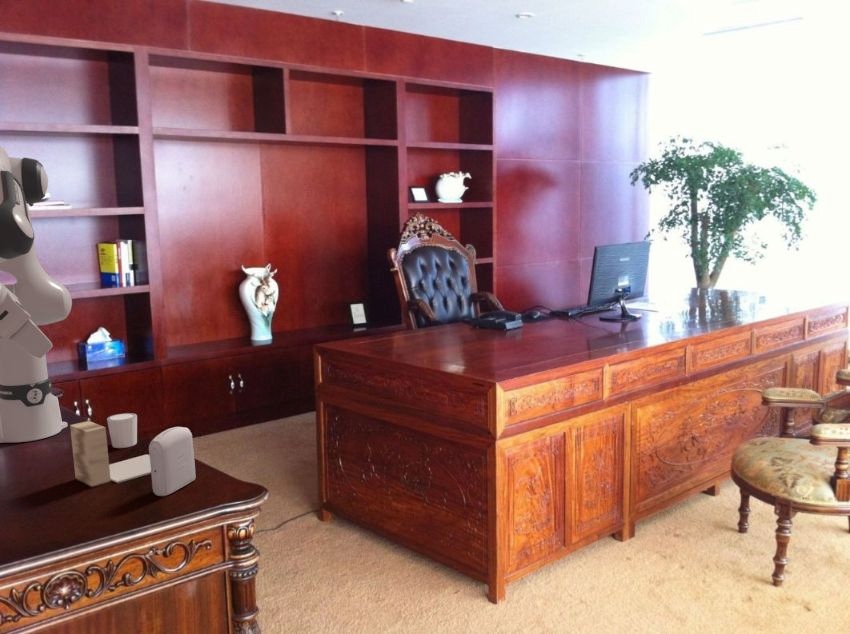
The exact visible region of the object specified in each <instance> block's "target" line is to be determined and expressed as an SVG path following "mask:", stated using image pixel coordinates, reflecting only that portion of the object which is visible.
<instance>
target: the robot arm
mask: <svg viewBox="0 0 850 634" xmlns="http://www.w3.org/2000/svg"><path fill="white" fill-rule="evenodd" d="M48 178H49V177H48V175H47V172H46V170H45V169H44V165H43V164H42V163H41V162H40V161H39V160H37V159H35V158H29V157H22V158H19V157H10V156H9V154H8V152H7V151H6V149H5V148H4V147H2V146H1V145H0V271H1V272H4V273H8V274H10V275H12V276H13V277H14V278H15V279H16V282H15V283H10V284H3V283H2V282H1V281H0V443H1V444H2V443H3V444H4V443H22V442H23V443H24V442H32V441H38V440H42V439H45V438H49V437H52V436H54V435H57V434H58V433H60V432H61V431H62V430H63V429H65V428H67V427H68V422H66V421H62V414H61V409H60V405H59V404H60V403H59V399H58V397H57V396H55V395H54V394H52V383H51V382H52V381H51V378H50V377H49V375H48V364H47V356H46V354H48V353H49V351H50V350H51V349H52V348H53V343H52V341H51V340H50V339H49V338H48V336H46V335H45V333H43V331H42V330H41V329H40V328H39V326H45V325H47V326H48V325H50V324H54V323H58V322H61V321H64V320H65V319H67V317H68V316H69V315H70V313H71V310H72V305H73V300H72V296H71V293H70V291H69V290H68V289H67V288H66V286H64V285H63V284H62V283H60V282H59V281H57V280H56V279H54V278H53V277H51V276H50V275H49V274H48V273H47V272H46V270H44V269H43V267H42V265H41V264H40V261H39V259H38V255H37V252H36V248H35V247H36V246H35V233H34V232H35V231H34V229H33V225H32V218H31V213H30V209H29V206H30V207H33V206H34V204H37V203H38V202H41V200H43V199H44V198H45V197H46V194H47V190H48V186H49V179H48Z"/></svg>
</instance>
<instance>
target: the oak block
mask: <svg viewBox="0 0 850 634" xmlns="http://www.w3.org/2000/svg"><path fill="white" fill-rule="evenodd" d="M69 428H70V429H69V430H70V437H71V439H70V440H71V447H72V458H73V466H74V468H73V469H74V474H75V475H74V476H75V480H77V481H78V482H81V483H82V484H85V485H86V486H88V487H90V488H94V487H98V486H102V485H106V484H109V483H111V482H112V480H111V478H110V468H109V465H110V460H109V459H110V457H109V452H108V451H109V450H108V439H107V429H106V427H105V426H103V425H101V424H98V423H95V422H93V421H90V420H86V421H82V422H78V423H74V424H69Z"/></svg>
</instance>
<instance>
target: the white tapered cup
mask: <svg viewBox="0 0 850 634" xmlns="http://www.w3.org/2000/svg"><path fill="white" fill-rule="evenodd" d="M106 421H107V426H108V431H109V436H110V441H111V446H112V448H116V449H124V448H130V447H134V446H135V445H137V443H138V415H137V414H136V413H132V412H130V413H129V412H126V413H125V412H124V413H118V414H113V415H110V416H108V417H107V418H106Z"/></svg>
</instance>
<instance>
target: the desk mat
mask: <svg viewBox="0 0 850 634" xmlns="http://www.w3.org/2000/svg"><path fill="white" fill-rule="evenodd" d="M109 468H110V478H111V482H114V483H116V484H120V483H123V482H126V481H130V480H133V479H137V478H139V477H143V476H147V475H151V465H150V455H149V454H143V455H139V456H136V457H132V458H128V459H124V460H122V461H118V462H114V463H109Z"/></svg>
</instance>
